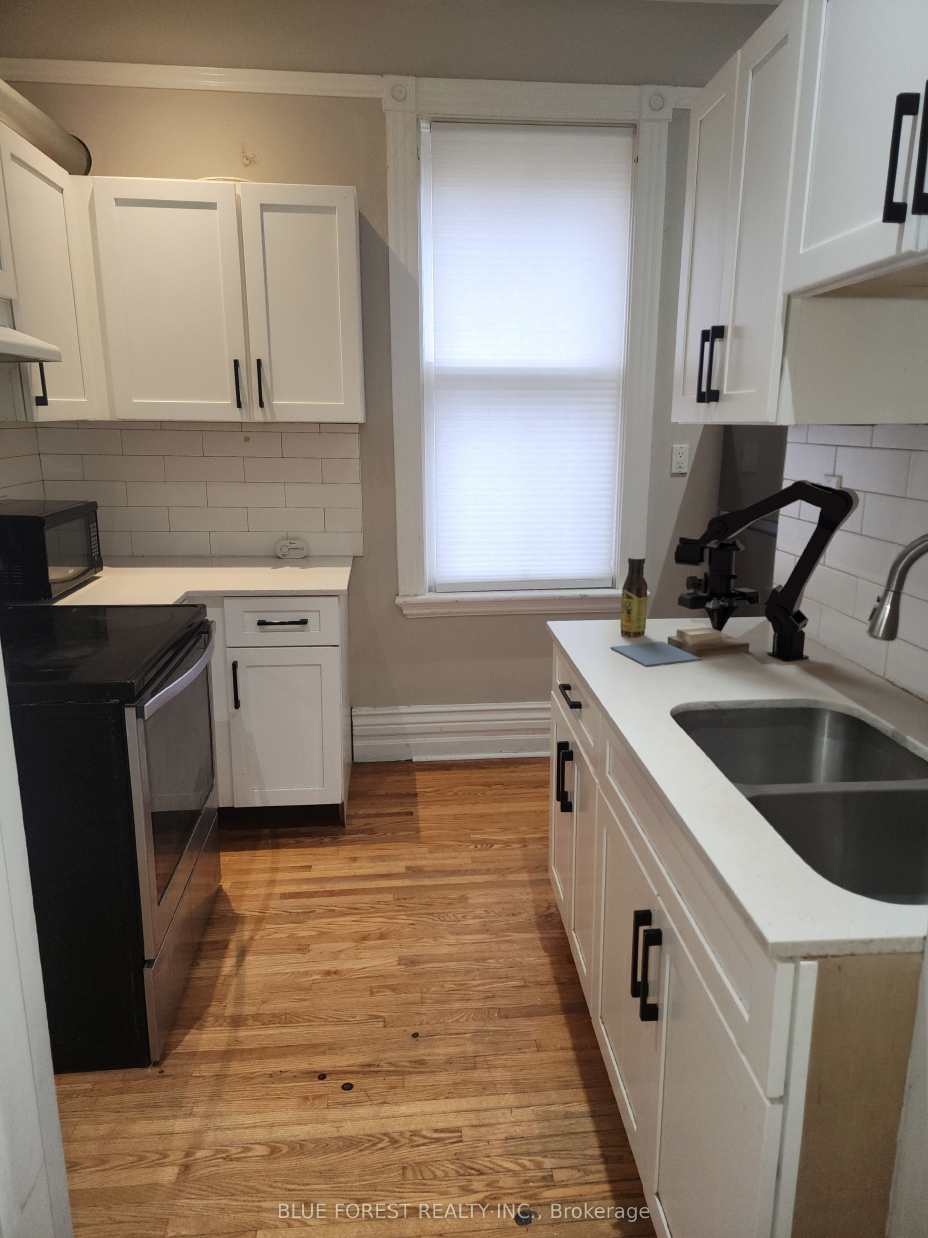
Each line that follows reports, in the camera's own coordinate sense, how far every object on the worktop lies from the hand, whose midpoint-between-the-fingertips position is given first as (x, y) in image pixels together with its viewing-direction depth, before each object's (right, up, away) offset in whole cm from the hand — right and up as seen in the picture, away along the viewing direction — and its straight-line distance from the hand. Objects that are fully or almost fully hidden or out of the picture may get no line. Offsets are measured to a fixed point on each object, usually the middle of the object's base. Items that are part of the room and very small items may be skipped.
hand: (716, 634), depth 191 cm
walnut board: (-2, -3, 0) cm, 4 cm away
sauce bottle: (-17, -1, +13) cm, 21 cm away
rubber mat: (-16, -4, -4) cm, 17 cm away
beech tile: (-5, 0, -2) cm, 5 cm away
